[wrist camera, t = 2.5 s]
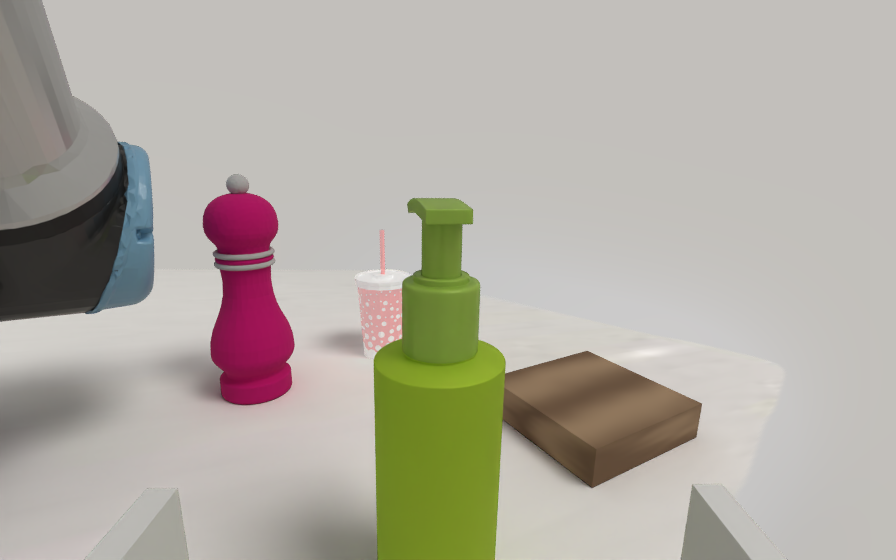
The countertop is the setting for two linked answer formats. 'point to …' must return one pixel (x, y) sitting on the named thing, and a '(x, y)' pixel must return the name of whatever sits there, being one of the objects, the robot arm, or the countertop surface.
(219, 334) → the pepper mill
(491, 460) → the soap dispenser
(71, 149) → the robot arm
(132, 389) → the countertop surface
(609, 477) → the plinth
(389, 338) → the beverage cup
